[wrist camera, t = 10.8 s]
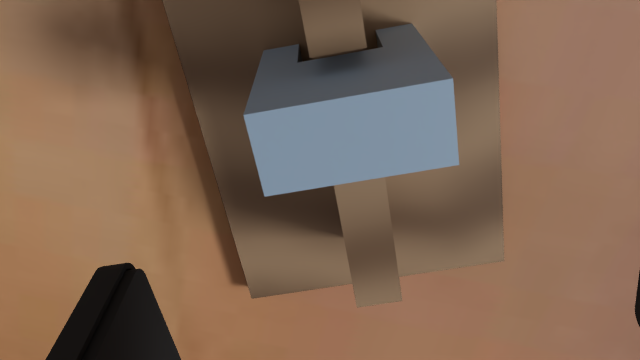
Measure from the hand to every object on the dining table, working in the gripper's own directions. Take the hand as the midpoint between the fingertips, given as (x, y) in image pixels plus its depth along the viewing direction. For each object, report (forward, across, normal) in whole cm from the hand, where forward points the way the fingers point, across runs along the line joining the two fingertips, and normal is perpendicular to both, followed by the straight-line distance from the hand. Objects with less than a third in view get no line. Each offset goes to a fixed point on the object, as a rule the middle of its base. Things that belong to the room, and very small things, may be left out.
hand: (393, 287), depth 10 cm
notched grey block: (+16, +1, +1) cm, 16 cm away
